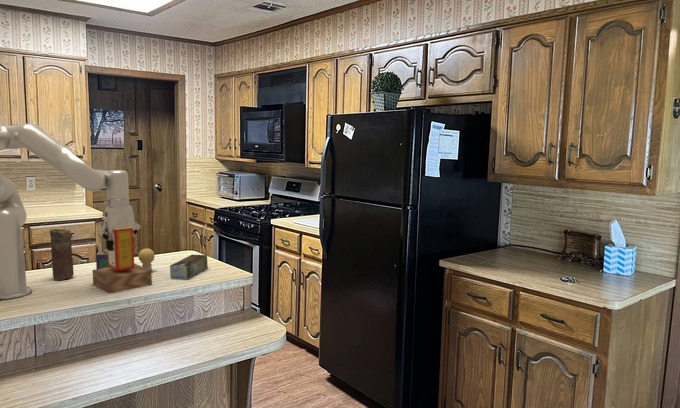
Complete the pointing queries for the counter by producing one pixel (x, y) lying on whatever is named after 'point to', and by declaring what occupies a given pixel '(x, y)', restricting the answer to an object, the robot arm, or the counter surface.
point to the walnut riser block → (121, 278)
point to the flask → (102, 260)
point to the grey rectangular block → (188, 267)
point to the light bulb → (146, 258)
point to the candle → (61, 254)
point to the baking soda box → (122, 250)
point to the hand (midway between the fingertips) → (120, 248)
